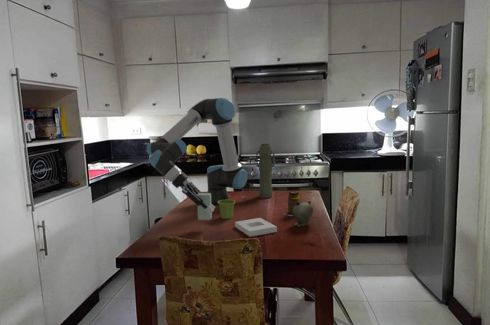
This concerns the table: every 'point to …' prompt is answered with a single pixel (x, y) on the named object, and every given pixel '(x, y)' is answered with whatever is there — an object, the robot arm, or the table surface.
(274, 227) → the socket plate
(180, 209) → the table surface
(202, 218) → the key block
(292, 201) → the condiment
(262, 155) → the thermos
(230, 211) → the plant pot
